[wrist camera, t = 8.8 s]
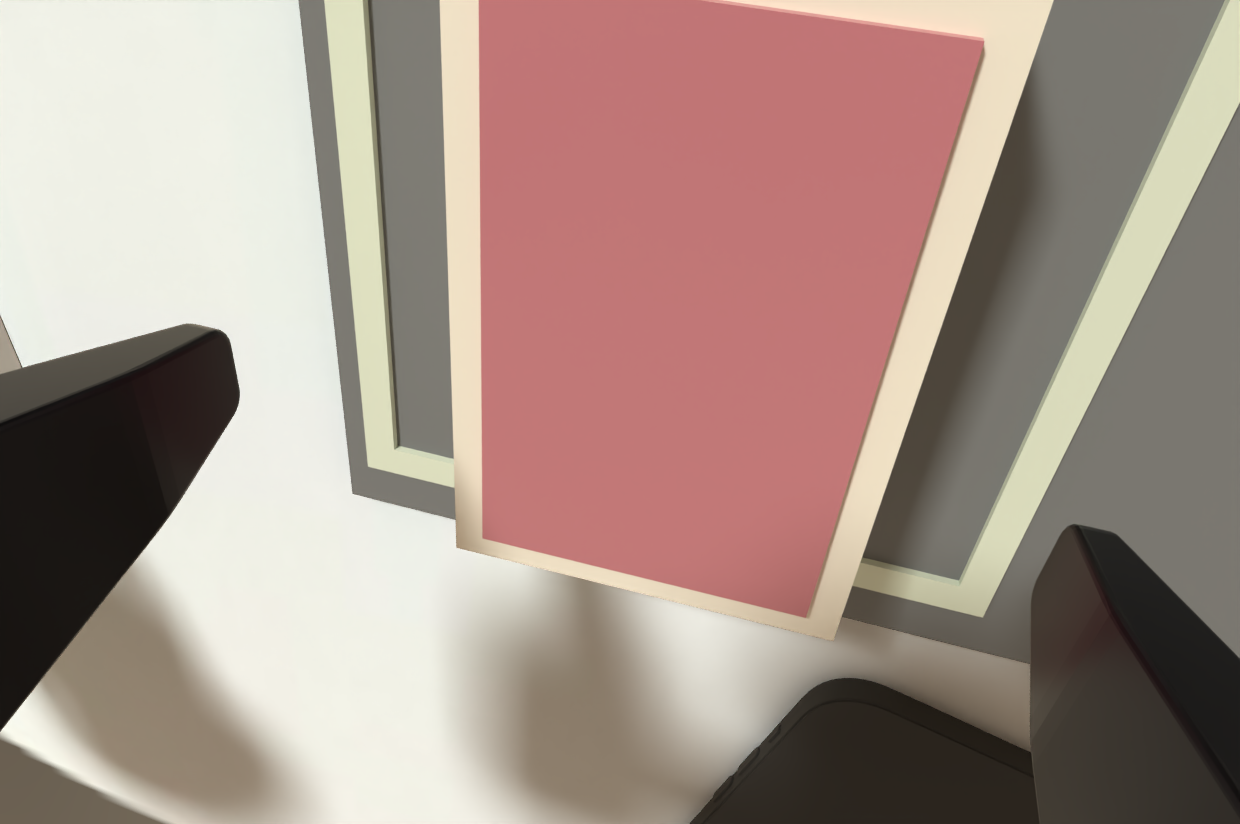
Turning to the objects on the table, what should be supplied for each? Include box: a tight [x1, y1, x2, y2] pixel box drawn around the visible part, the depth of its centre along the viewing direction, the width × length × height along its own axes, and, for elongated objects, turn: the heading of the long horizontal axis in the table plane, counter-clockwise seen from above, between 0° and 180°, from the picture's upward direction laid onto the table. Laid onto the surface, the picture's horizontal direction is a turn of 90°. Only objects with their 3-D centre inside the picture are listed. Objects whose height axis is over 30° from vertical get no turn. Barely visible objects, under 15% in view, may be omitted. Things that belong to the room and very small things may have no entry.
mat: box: [299, 0, 1240, 664], centre depth 13 cm, size 24×14×1 cm, turn 84°
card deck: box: [440, 0, 1054, 641], centre depth 12 cm, size 9×6×3 cm, turn 175°
